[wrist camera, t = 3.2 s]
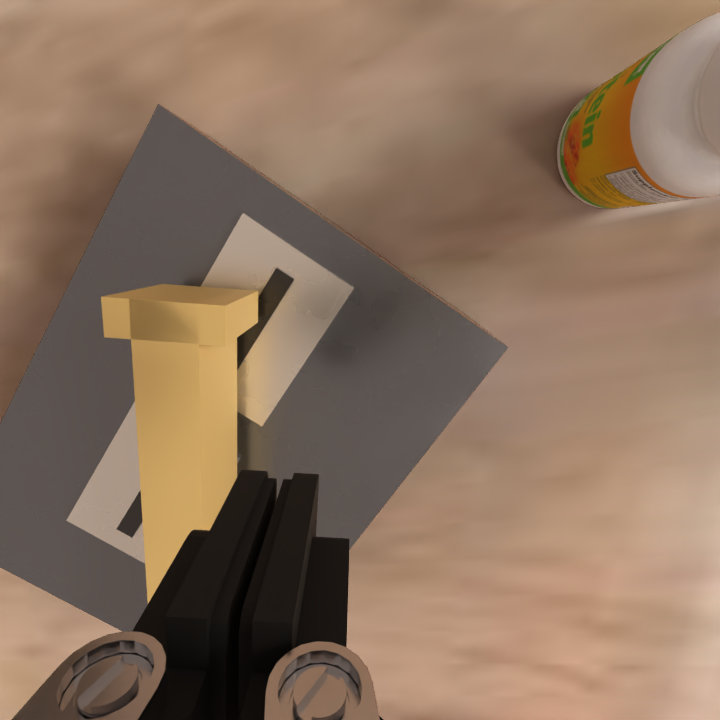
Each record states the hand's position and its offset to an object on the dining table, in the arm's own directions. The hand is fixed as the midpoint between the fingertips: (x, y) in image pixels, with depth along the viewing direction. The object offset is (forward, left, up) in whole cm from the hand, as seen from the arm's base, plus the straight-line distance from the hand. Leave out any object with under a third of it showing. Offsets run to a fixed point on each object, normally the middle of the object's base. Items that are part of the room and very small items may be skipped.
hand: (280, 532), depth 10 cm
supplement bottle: (-16, +5, -15) cm, 22 cm away
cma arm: (+7, -1, -9) cm, 12 cm away
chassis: (+5, -3, -14) cm, 16 cm away
